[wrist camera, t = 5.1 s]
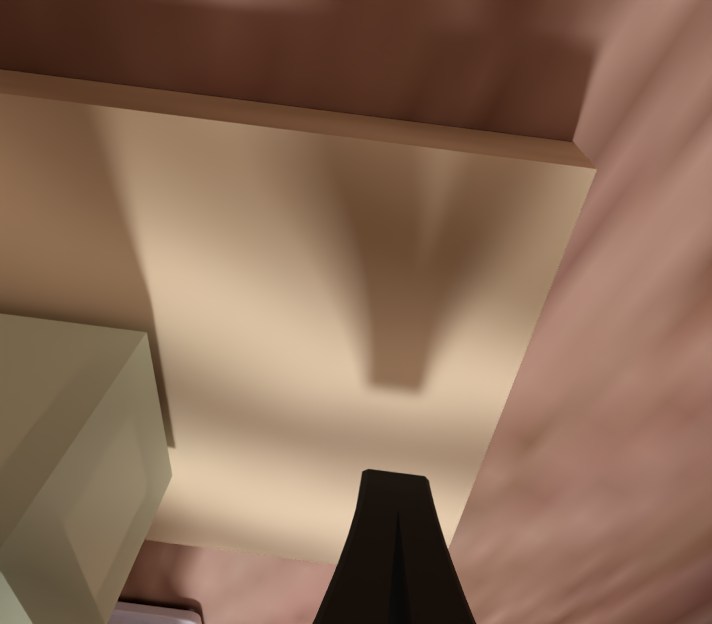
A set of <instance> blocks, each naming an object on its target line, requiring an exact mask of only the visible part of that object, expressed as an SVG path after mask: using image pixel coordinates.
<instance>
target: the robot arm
mask: <svg viewBox="0 0 712 624" xmlns="http://www.w3.org/2000/svg"><path fill="white" fill-rule="evenodd" d="M107 624H202V622H201V617H200V616H199V614H197V613H195V612H193V611H188V610H180V609H172V608H165V607H157V606H149V605H141V604H134V603H126V602H118V601H117V603H116V605H115V607H114V610H113V612H112V614H111V616H110V619H109V621H108V623H107ZM313 624H476V622H475V620H474V617H473V615H472V613H471V610H470V608H469V605H468V603H467V600H466V597H465V595H464V592H463V590H462V587H461V584H460V581H459V579H458V576H457V573H456V571H455V568H454V565H453V562H452V560H451V557H450V554H449V551H448V548H447V545H446V542H445V539H444V535H443V532H442V529H441V526H440V523H439V519H438V516H437V512H436V508H435V505H434V501H433V497H432V492H431V488H430V483H429V480H428V479H427V478H426V477H425V476H421V475H413V474H405V473H397V472H390V471H382V470H374V469H366V470H364V471H362V475H361V481H360V487H359V492H358V498H357V504H356V509H355V513H354V517H353V520H352V523H351V527H350V530H349V533H348V536H347V539H346V542H345V545H344V547H343V550H342V553H341V556H340V559H339V561H338V564H337V567H336V569H335V572H334V575H333V577H332V579H331V582H330V584H329V587H328V589H327V591H326V594H325V596H324V598H323V601H322V603H321V605H320V608H319V610H318V613H317V615H316V617H315V619H314V621H313Z"/></svg>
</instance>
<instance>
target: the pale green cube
mask: <svg viewBox="0 0 712 624" xmlns="http://www.w3.org/2000/svg"><path fill="white" fill-rule="evenodd" d="M172 476H173V475H172V470H171V464H170V459H169V453H168V448H167V442H166V436H165V431H164V425H163V420H162V414H161V409H160V403H159V398H158V392H157V386H156V381H155V375H154V370H153V364H152V359H151V353H150V348H149V342H148V336H147V332H140V331H132V330H125V329H117V328H109V327H101V326H94V325H86V324H78V323H70V322H62V321H55V320H47V319H39V318H31V317H23V316H16V315H8V314H0V624H107V623H108V621H109V619H110V616H111V614H112V612H113V610H114V607H115V605H116V603H117V600H118V598H119V596H120V594H121V591H122V589H123V587H124V585H125V582H126V580H127V578H128V575H129V573H130V571H131V569H132V566H133V564H134V562H135V560H136V557H137V555H138V553H139V551H140V548H141V546H142V544H143V541H144V539H145V537H146V535H147V532H148V530H149V528H150V526H151V523H152V521H153V519H154V516H155V514H156V512H157V510H158V507H159V505H160V503H161V501H162V498H163V496H164V494H165V492H166V489H167V487H168V485H169V482H170V480H171V478H172Z"/></svg>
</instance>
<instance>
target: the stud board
mask: <svg viewBox="0 0 712 624" xmlns="http://www.w3.org/2000/svg"><path fill="white" fill-rule="evenodd" d="M596 171H597V168H596V167H595V166H594V165H593V164H592V163H591V162H590V161H589V159H588V158H587V157H586V156H585V155H584V154H583V153H582V152H581V150H580V149H579V148H578V147H577V146H576V145H575V144H574V143H573V142H568V141H561V140H553V139H545V138H537V137H529V136H521V135H513V134H506V133H498V132H490V131H482V130H474V129H466V128H458V127H450V126H443V125H435V124H427V123H419V122H411V121H403V120H395V119H387V118H380V117H372V116H364V115H356V114H348V113H340V112H332V111H325V110H317V109H309V108H301V107H293V106H285V105H277V104H269V103H262V102H254V101H246V100H238V99H230V98H222V97H214V96H207V95H199V94H191V93H183V92H175V91H167V90H159V89H151V88H144V87H136V86H128V85H120V84H112V83H104V82H96V81H88V80H81V79H73V78H65V77H57V76H49V75H41V74H33V73H26V72H18V71H10V70H2V69H0V314H8V315H16V316H23V317H31V318H39V319H47V320H55V321H62V322H70V323H78V324H86V325H94V326H101V327H109V328H117V329H125V330H132V331H140V332H147V336H148V342H149V348H150V353H151V359H152V364H153V370H154V375H155V381H156V386H157V392H158V398H159V403H160V409H161V414H162V420H163V425H164V431H165V436H166V442H167V448H168V453H169V459H170V464H171V470H172V475H173V476H172V478H171V480H170V482H169V485H168V487H167V489H166V492H165V494H164V496H163V498H162V501H161V503H160V505H159V507H158V510H157V512H156V514H155V516H154V519H153V521H152V523H151V526H150V528H149V530H148V532H147V535H146V537H145V539H144V540H150V541H157V542H165V543H173V544H180V545H188V546H196V547H204V548H211V549H219V550H227V551H234V552H242V553H250V554H258V555H265V556H273V557H281V558H288V559H296V560H304V561H312V562H319V563H327V564H335V565H337V564H338V561H339V559H340V556H341V553H342V550H343V547H344V545H345V542H346V539H347V536H348V533H349V530H350V527H351V523H352V520H353V517H354V513H355V509H356V504H357V498H358V492H359V487H360V481H361V475H362V471H364V470H366V469H374V470H382V471H390V472H397V473H405V474H413V475H421V476H425V477H426V478H427V479H428V480H429V483H430V488H431V492H432V497H433V501H434V505H435V508H436V512H437V516H438V519H439V523H440V526H441V529H442V532H443V535H444V539H445V542H446V545H447V548H449V545H450V543H451V540H452V538H453V535H454V533H455V530H456V528H457V525H458V522H459V520H460V517H461V515H462V512H463V510H464V507H465V505H466V502H467V500H468V497H469V494H470V492H471V489H472V487H473V484H474V482H475V479H476V477H477V474H478V471H479V469H480V466H481V464H482V461H483V459H484V456H485V454H486V451H487V449H488V446H489V443H490V441H491V438H492V436H493V433H494V431H495V428H496V426H497V423H498V420H499V418H500V415H501V413H502V410H503V408H504V405H505V403H506V400H507V398H508V395H509V392H510V390H511V387H512V385H513V382H514V380H515V377H516V375H517V372H518V369H519V367H520V364H521V362H522V359H523V357H524V354H525V352H526V349H527V347H528V344H529V341H530V339H531V336H532V334H533V331H534V329H535V326H536V324H537V321H538V318H539V316H540V313H541V311H542V308H543V306H544V303H545V301H546V298H547V296H548V293H549V290H550V288H551V285H552V283H553V280H554V278H555V275H556V273H557V270H558V267H559V265H560V262H561V260H562V257H563V255H564V252H565V250H566V247H567V245H568V242H569V239H570V237H571V234H572V232H573V229H574V227H575V224H576V222H577V219H578V216H579V214H580V211H581V209H582V206H583V204H584V201H585V199H586V196H587V194H588V191H589V188H590V186H591V183H592V181H593V178H594V176H595V173H596Z"/></svg>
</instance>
